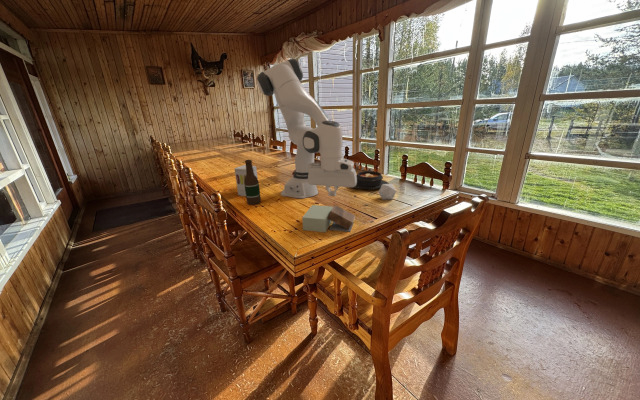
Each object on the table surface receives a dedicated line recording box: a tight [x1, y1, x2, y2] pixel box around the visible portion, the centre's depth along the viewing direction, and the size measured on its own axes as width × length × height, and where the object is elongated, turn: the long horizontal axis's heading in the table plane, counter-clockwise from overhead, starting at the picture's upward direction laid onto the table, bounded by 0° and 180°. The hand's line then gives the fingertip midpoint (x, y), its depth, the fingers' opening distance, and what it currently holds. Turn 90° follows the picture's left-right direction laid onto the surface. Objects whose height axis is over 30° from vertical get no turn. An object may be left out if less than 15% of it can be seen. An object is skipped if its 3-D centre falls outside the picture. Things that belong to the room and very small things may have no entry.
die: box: [378, 183, 397, 201], centre depth 140 cm, size 8×9×10 cm
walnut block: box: [328, 204, 356, 230], centre depth 111 cm, size 4×7×10 cm
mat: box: [328, 221, 354, 233], centre depth 112 cm, size 9×9×1 cm
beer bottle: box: [244, 159, 262, 206], centre depth 139 cm, size 8×8×24 cm
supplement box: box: [234, 164, 259, 197], centre depth 155 cm, size 10×9×17 cm
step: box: [301, 204, 334, 233], centre depth 114 cm, size 10×14×6 cm
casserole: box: [352, 170, 390, 190], centre depth 160 cm, size 25×19×8 cm
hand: (332, 195), depth 108 cm, fingers closed
